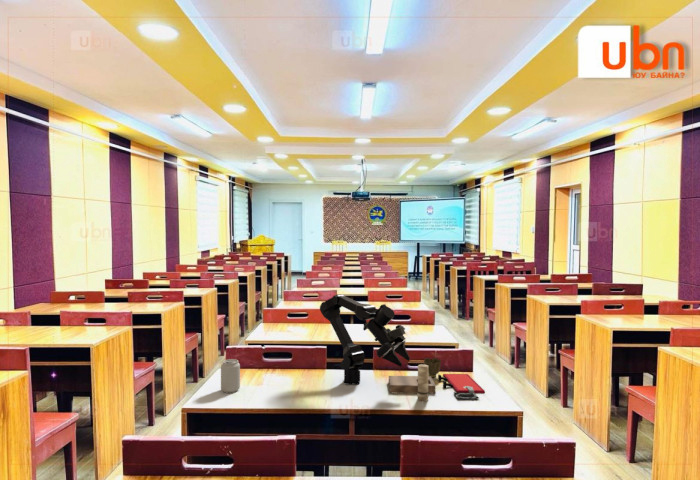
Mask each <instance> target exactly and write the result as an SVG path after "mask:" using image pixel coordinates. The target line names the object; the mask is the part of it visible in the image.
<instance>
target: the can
mask: <svg viewBox="0 0 700 480" xmlns="http://www.w3.org/2000/svg"><path fill="white" fill-rule="evenodd" d="M240 388H241V364H240V363H239V360H238V359H234V358H229V359H224V360H223V361H222V364H221V365H220V390H221V391H222V393H227V394H231V392H232V393H235V391H236V392H238V390H240Z"/></svg>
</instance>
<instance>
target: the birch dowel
mask: <svg viewBox="0 0 700 480" xmlns="http://www.w3.org/2000/svg"><path fill="white" fill-rule="evenodd" d="M417 376H418V393H417V401H419V402H427V401H429V394H430V393H429V391H428V365H425V364H424V363H423V364H422V363H421V364H418V365H417Z"/></svg>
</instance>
